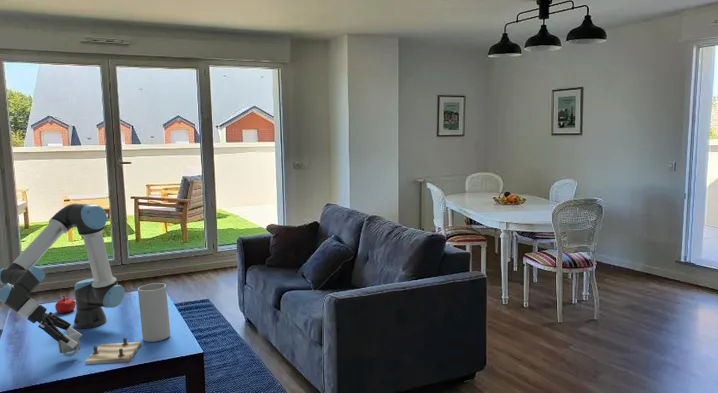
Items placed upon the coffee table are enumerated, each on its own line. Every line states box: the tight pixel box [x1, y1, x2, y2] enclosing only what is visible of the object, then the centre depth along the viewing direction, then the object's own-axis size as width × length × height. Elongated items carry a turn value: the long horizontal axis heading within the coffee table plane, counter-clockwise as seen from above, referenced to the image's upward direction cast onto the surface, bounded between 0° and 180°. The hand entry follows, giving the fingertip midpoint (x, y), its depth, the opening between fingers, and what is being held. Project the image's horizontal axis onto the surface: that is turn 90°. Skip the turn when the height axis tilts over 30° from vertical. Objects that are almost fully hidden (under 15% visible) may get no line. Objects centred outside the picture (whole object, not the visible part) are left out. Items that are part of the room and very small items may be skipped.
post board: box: [85, 337, 142, 365], centre depth 242 cm, size 18×18×4 cm
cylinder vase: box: [137, 282, 171, 343], centre depth 259 cm, size 12×12×25 cm
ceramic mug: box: [57, 331, 81, 358], centre depth 237 cm, size 11×8×8 cm
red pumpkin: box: [54, 294, 76, 314], centre depth 301 cm, size 10×10×9 cm
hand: (77, 341), depth 239 cm, fingers closed on ceramic mug, 9 cm apart
